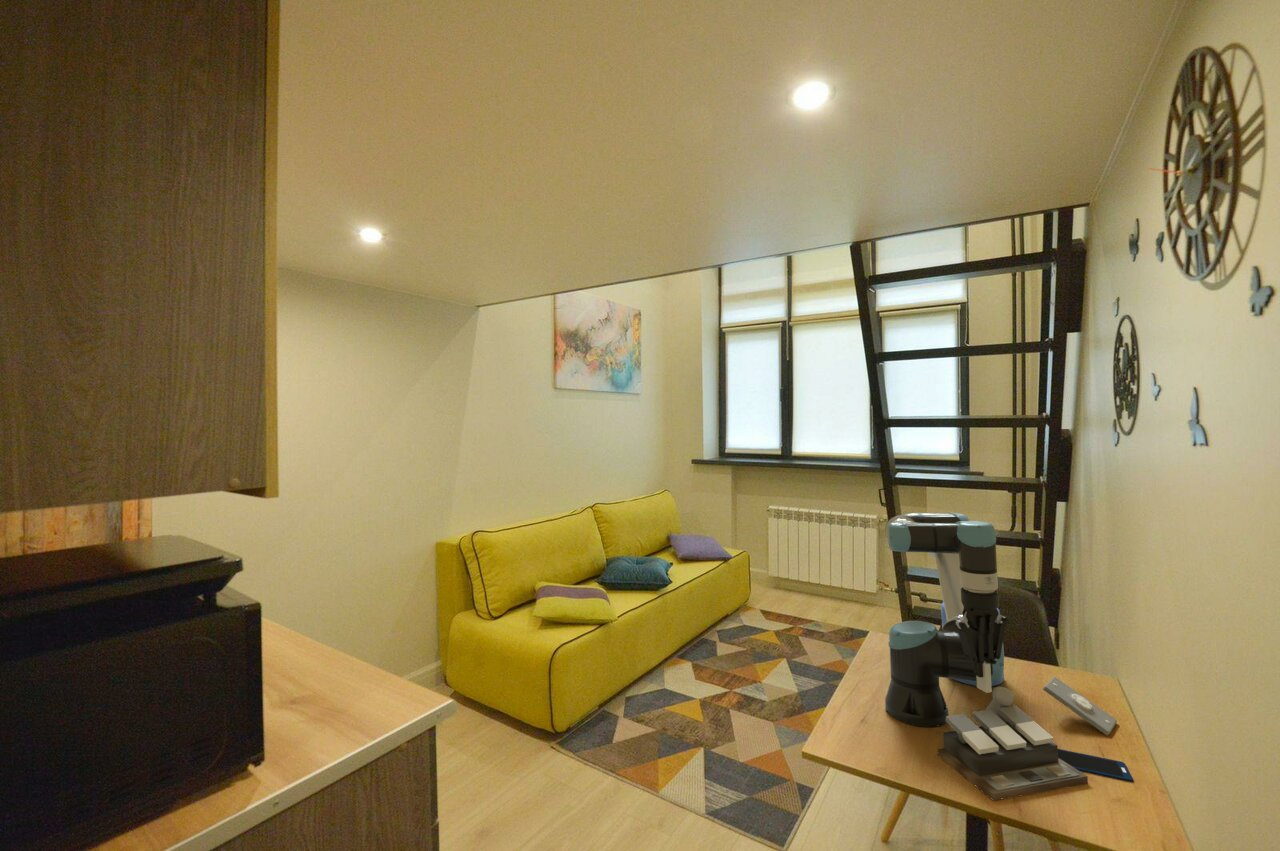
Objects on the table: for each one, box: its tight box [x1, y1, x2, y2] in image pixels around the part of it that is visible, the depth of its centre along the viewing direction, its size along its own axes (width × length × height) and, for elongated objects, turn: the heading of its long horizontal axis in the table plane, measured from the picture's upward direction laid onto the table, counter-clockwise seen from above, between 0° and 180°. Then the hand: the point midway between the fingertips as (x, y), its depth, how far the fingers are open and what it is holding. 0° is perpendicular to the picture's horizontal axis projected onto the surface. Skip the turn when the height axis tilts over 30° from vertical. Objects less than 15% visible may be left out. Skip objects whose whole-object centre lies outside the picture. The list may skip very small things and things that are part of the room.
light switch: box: [1043, 676, 1118, 736], centre depth 139 cm, size 8×6×14 cm
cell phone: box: [1058, 748, 1134, 783], centre depth 121 cm, size 7×14×1 cm, turn 60°
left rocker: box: [946, 713, 999, 754], centre depth 122 cm, size 10×5×3 cm, turn 11°
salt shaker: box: [985, 685, 1015, 722], centre depth 133 cm, size 6×6×13 cm
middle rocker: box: [971, 709, 1027, 750], centre depth 123 cm, size 10×5×3 cm, turn 11°
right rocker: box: [998, 704, 1055, 746], centre depth 125 cm, size 10×5×3 cm, turn 11°
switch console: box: [937, 722, 1089, 801], centre depth 121 cm, size 16×23×5 cm
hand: (984, 689), depth 127 cm, fingers closed
